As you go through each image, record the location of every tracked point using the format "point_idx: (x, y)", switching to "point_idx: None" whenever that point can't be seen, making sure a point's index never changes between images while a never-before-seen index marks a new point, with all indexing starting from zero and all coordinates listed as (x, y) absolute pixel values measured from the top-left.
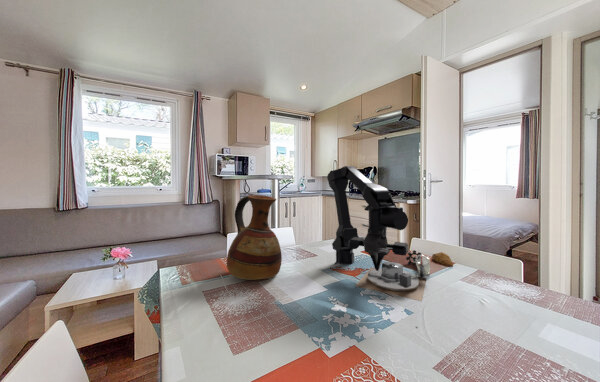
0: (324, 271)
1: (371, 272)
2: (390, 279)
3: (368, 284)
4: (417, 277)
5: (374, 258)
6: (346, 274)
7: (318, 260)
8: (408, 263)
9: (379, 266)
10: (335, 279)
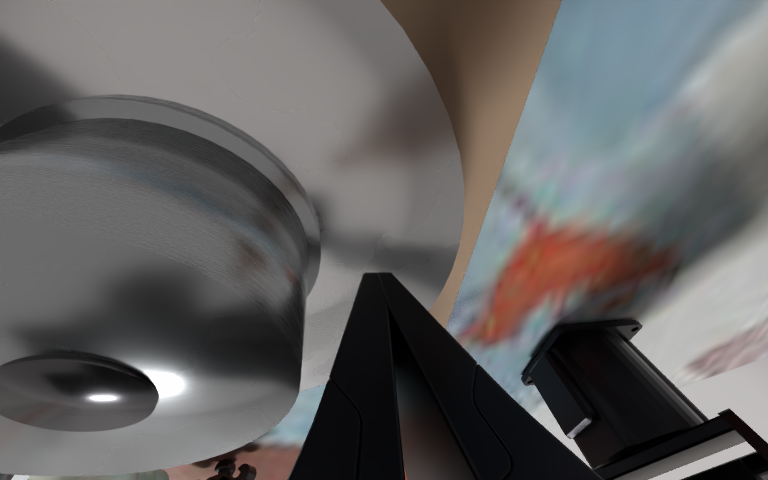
0: (740, 206)
1: (429, 259)
2: (110, 102)
3: (430, 22)
4: None
5: (471, 436)
6: (592, 229)
7: (707, 324)
8: (247, 472)
9: (349, 321)
10: (716, 89)
